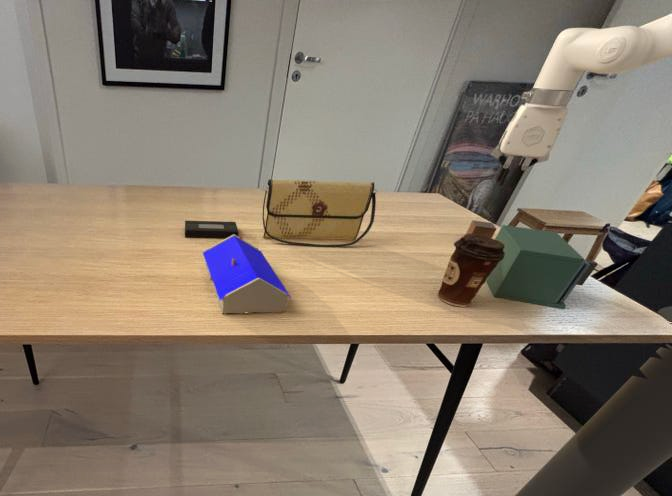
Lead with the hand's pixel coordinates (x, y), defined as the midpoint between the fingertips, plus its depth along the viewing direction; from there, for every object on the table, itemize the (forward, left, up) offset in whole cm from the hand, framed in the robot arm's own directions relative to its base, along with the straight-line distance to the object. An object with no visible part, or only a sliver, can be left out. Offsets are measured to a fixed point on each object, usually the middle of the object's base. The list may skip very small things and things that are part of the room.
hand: (504, 184), depth 100 cm
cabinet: (-4, +27, -15) cm, 31 cm away
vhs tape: (+70, +26, -15) cm, 76 cm away
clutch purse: (+43, +20, -15) cm, 50 cm away
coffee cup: (+11, +40, -15) cm, 44 cm away
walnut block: (0, 0, -15) cm, 15 cm away
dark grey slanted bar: (-12, +30, -14) cm, 35 cm away
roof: (+54, +53, -15) cm, 77 cm away
